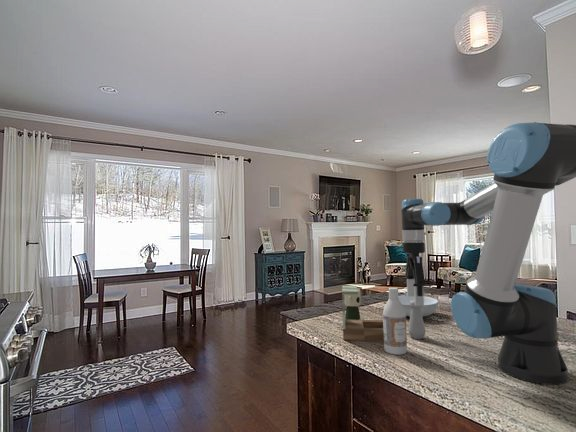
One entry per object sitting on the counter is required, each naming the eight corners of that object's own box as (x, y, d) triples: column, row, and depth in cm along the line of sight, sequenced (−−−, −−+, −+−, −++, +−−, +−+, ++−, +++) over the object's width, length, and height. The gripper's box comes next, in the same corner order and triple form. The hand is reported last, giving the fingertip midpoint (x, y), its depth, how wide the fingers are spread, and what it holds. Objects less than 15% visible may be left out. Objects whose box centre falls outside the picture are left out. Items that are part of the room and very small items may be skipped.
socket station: (393, 342, 111) (391, 292, 112) (343, 340, 114) (342, 291, 115) (388, 331, 123) (387, 286, 124) (343, 329, 126) (342, 285, 127)
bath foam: (391, 356, 99) (389, 290, 100) (380, 348, 106) (378, 287, 107) (411, 354, 101) (409, 289, 101) (399, 346, 107) (397, 285, 108)
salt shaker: (427, 340, 112) (425, 302, 113) (409, 339, 113) (408, 302, 114) (423, 335, 118) (422, 299, 118) (407, 334, 119) (406, 298, 120)
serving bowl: (409, 307, 160) (408, 293, 160) (448, 316, 142) (448, 300, 142) (379, 313, 149) (378, 298, 149) (418, 324, 131) (417, 307, 131)
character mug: (359, 325, 132) (358, 292, 132) (341, 323, 134) (341, 291, 135) (363, 318, 142) (362, 288, 142) (347, 316, 144) (346, 287, 145)
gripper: (434, 243, 104) (435, 310, 104) (416, 239, 129) (418, 293, 128) (409, 244, 105) (411, 309, 105) (397, 240, 130) (398, 292, 129)
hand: (415, 300), depth 117 cm, fingers open, 13 cm apart
